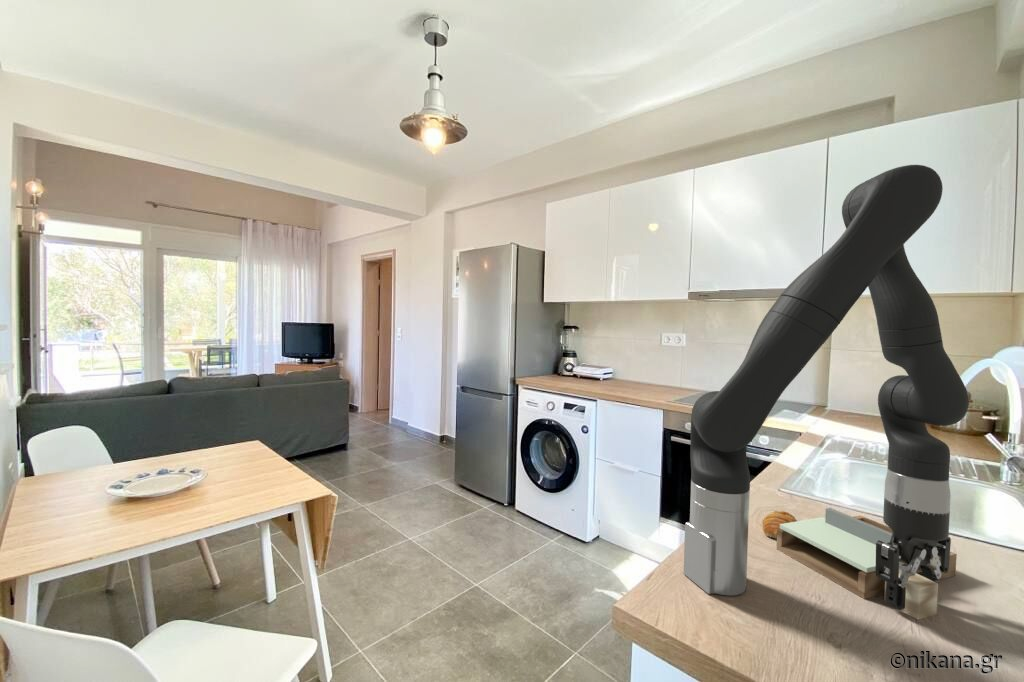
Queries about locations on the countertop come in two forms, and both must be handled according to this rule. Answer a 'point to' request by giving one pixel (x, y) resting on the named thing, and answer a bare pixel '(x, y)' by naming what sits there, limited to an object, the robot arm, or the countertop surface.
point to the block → (920, 596)
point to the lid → (842, 537)
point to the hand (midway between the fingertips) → (911, 601)
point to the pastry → (776, 522)
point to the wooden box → (842, 563)
